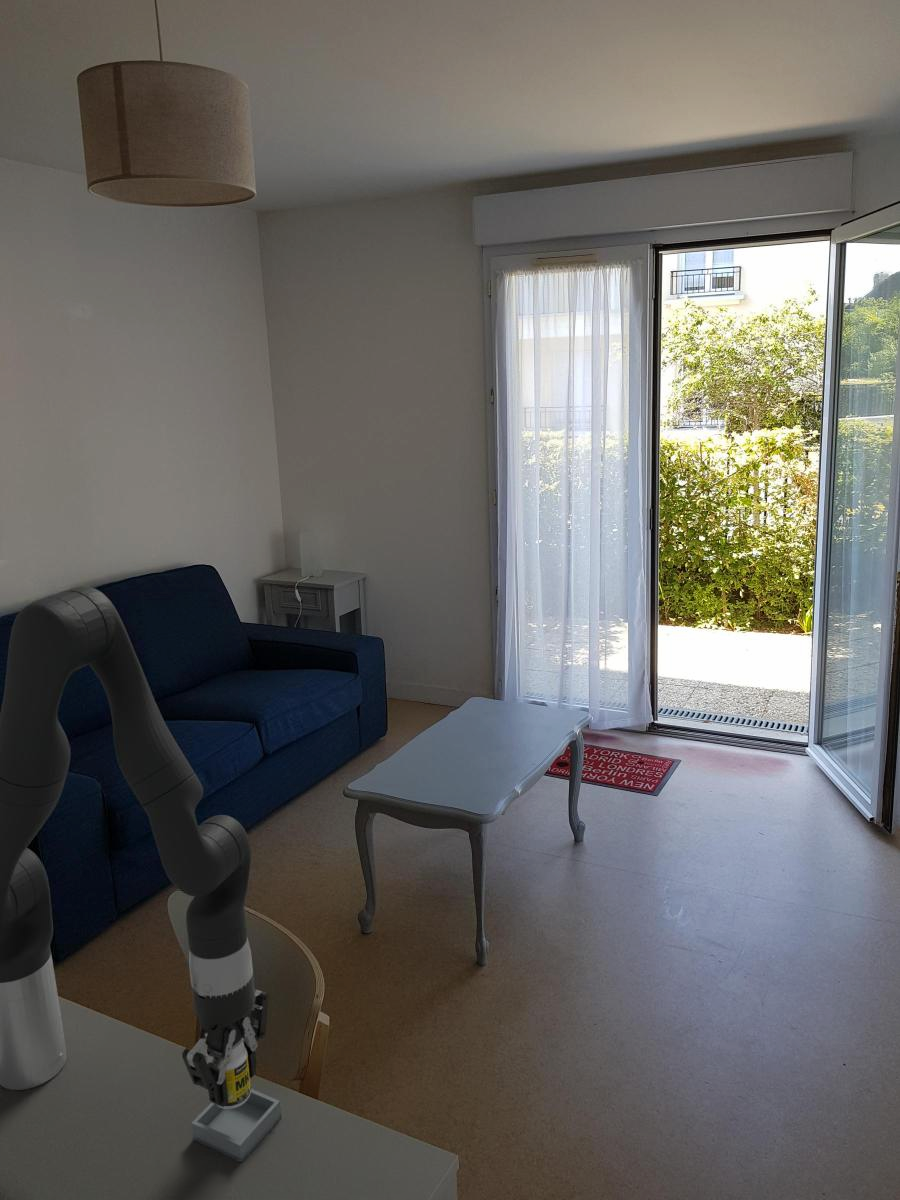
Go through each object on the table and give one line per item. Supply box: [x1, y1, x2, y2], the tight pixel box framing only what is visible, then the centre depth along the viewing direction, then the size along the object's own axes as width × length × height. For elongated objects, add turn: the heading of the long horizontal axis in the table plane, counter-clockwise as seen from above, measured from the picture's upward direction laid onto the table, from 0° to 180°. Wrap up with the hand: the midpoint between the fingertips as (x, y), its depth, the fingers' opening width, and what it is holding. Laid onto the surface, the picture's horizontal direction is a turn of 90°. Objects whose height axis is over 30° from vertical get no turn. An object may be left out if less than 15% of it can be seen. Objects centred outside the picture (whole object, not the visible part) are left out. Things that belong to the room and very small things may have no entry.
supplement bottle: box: [213, 1038, 252, 1109], centre depth 119 cm, size 5×5×8 cm
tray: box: [190, 1088, 282, 1163], centre depth 121 cm, size 8×8×3 cm
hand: (234, 1088), depth 119 cm, fingers closed on supplement bottle, 4 cm apart
